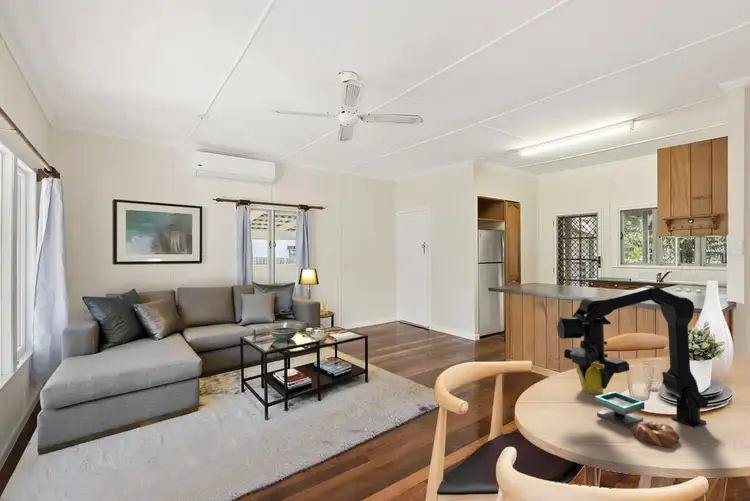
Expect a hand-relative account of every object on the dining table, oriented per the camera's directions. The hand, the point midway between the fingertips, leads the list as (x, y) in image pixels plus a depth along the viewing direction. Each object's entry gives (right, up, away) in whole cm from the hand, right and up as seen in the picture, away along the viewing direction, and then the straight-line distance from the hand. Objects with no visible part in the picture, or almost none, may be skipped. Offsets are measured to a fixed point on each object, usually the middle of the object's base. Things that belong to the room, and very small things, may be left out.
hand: (595, 385), depth 118 cm
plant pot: (+12, -11, +22) cm, 27 cm away
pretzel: (+11, -12, -11) cm, 19 cm away
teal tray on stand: (+8, -11, +1) cm, 14 cm away
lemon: (0, -2, 0) cm, 2 cm away
